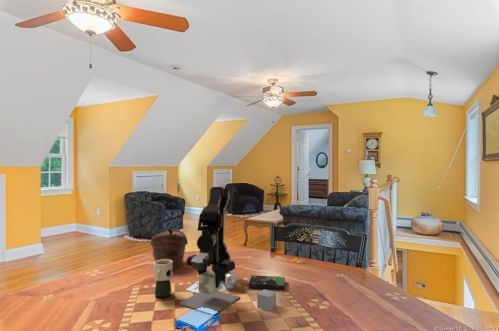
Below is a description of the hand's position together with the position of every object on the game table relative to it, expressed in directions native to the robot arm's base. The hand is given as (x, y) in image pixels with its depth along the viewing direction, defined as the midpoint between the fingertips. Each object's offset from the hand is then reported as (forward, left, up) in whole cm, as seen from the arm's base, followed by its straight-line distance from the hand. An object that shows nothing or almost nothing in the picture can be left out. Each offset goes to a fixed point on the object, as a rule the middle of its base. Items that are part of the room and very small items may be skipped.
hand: (210, 286), depth 116 cm
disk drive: (+11, +25, -6) cm, 28 cm away
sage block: (0, 0, -2) cm, 2 cm away
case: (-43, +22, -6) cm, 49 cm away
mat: (0, 0, -6) cm, 6 cm away
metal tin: (0, +14, -6) cm, 15 cm away
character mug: (-19, -5, -6) cm, 21 cm away
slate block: (+20, +7, -6) cm, 22 cm away
